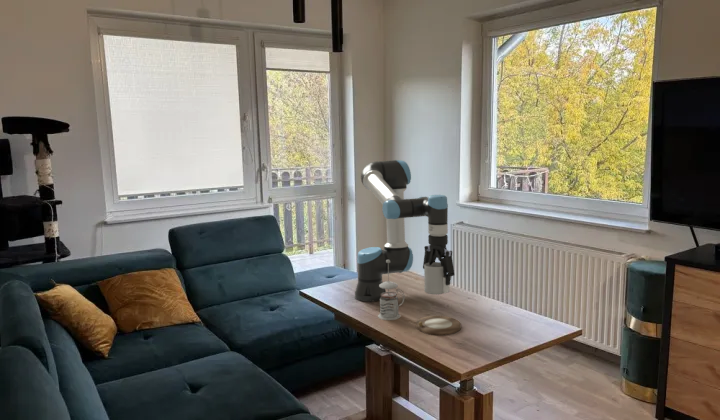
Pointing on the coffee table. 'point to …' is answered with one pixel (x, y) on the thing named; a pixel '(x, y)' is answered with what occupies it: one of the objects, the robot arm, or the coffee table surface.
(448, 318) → the ring
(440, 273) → the mug
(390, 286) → the french press
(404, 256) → the robot arm
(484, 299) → the coffee table surface
